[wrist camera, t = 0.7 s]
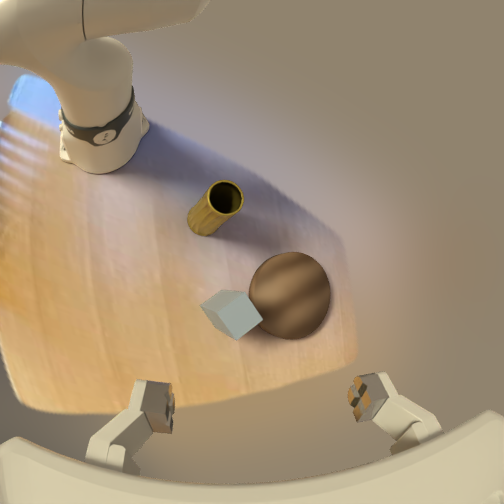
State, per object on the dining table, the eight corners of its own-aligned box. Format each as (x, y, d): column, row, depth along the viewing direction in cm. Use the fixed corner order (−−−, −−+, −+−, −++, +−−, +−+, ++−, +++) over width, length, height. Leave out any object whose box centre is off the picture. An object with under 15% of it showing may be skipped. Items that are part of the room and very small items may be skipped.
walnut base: (234, 274, 51) (240, 273, 48) (304, 241, 58) (312, 239, 55) (268, 351, 52) (275, 355, 49) (331, 312, 59) (339, 313, 56)
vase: (225, 224, 51) (255, 204, 38) (199, 242, 49) (220, 227, 36) (207, 197, 51) (231, 169, 37) (180, 214, 48) (195, 189, 35)
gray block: (199, 305, 48) (216, 312, 37) (221, 289, 50) (244, 292, 39) (215, 327, 49) (236, 340, 38) (236, 311, 50) (263, 319, 39)
